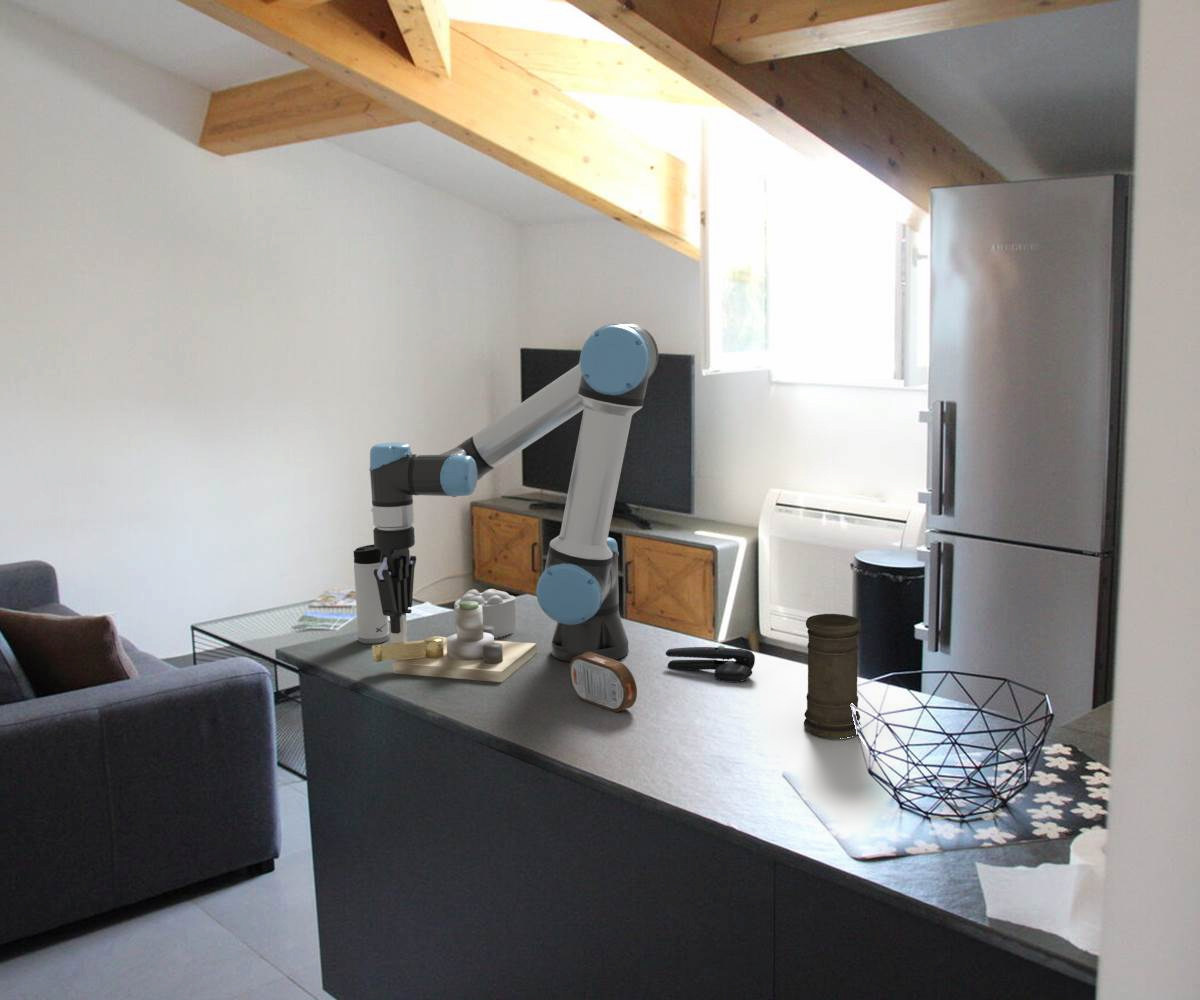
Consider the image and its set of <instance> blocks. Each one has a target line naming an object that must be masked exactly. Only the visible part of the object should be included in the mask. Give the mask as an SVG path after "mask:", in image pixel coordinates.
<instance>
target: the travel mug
mask: <svg viewBox="0 0 1200 1000" xmlns="http://www.w3.org/2000/svg"><path fill="white" fill-rule="evenodd" d="M380 558H381V551H380V550H379V549H377V548H375V546H374V544H368V545H363V546H359V547H357V548H355V550H353V568H354V569H353V571H354V587H355V588H354V589H355V603H356V604H355V608H356V621H357V633H358V634H357V640H358V642H359V643H361V644H365V645H366V644H367V645H376V644H383V643H385V642H388V640H390V631H389V630H390V623H389V616H385V615H383V612H382V606H381V601H380V595H379V590H378V585H377V580H376V578H375V576H374V570H375V569H379V568H380V566H381V563H380Z"/></svg>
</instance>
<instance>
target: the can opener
mask: <svg viewBox="0 0 1200 1000" xmlns="http://www.w3.org/2000/svg"><path fill="white" fill-rule="evenodd" d="M665 656H667V657H668V658H669V657H670V658H673V657H674V658H693V659H674V660H673V659H672V660H669V662H668V663H667V667H668V668H669V669H674V670H683V671H697V670H698V671H701V670H706V671H707V670H708V671H709V670H712V671H713V670H714V673H713V678H715V679H716V680H719V681H722V682H727V683H728V682H730V683H736V682H737V683H738V682H743V681H745V680H747V679H748V678H750V676H752V675H753V668H754V666H755V664H756V656H755V654H754V653H753V652H752V651H751V650H748V649H743V648H731V647H730V648H729V647H726V646H724V645H718V646H717V647H715V646H713V647H712V646H691V647H687V646H686V647H685V646H684V647H675V648H669V649H667V650H666V651H665ZM695 658H696V659H695ZM697 658H698V659H697ZM732 659H733V660H732Z"/></svg>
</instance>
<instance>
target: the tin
mask: <svg viewBox="0 0 1200 1000" xmlns="http://www.w3.org/2000/svg"><path fill="white" fill-rule="evenodd" d="M569 680H570V685H571V688H572V689H573V691H574V692H575V694H576V695H577V696H578V697H579V698H580V699H581V700H583V701H585V702H587V703H590V704H592V705H595V706H598V707H600V708H603V709H605V710H608V711H611V712H615V713H616V712H618V713H619V712H622V711H624V710H626V709H630V708H632V707H633V706H634V705H635V703H636V701H637V696H638V688H637V683H636V680H635V678H634V675H633V673H632V672H631V671H630V669H629V667H627V666H626V665H625V664H624V663H622V661H621V662H620V661H618V660H613V659H610V658H607V657H604V656H601V655H598V654H596V653H593V652H585V653H583V654H581V655H579V656H576V657H575V658H573V659H572V661H571V662H569Z"/></svg>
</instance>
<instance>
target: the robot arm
mask: <svg viewBox="0 0 1200 1000" xmlns="http://www.w3.org/2000/svg"><path fill="white" fill-rule="evenodd" d="M579 355H580V356H579V362H578V364H577V365H576V366H574V367H572V368H571V369H569V370H568V371H566V372H565V373H563V374H562V375H561V376H559V377H558V378H556V379H555V380H553V381H552V382H550V383H548V384H547V385H546V386H544V387H543V388H541V389H540V390H538V391H537V392H535V393H534V394H532V395H531V396H529V397H528V398H526V399H525V400H524V401H523V402H521V403H520V404H518V405H516V406H515V407H514V408H512V409H510V410H509V411H507V412H506V413H504V414H503V415H502V416H500V417H499V418H497V419H496V420H494V421H493V422H491V423H490V424H488V425H486V427H483V428H482V429H481V430H480V431H477V433H475V434H473V435H472V436H470V437H469V438H467V439H465V440H464V441H462V443H460V444H458V445H457V446H456V447H454V448H452V449H450V450H447V451H446V452H445V451H444V452H443V453H440V454H414V453H412V451H411V445H409V444H408V443H407V442H406V443H405V442H383V443H377V444H375V445H373V446H372V447H370V451H369V470H368V471H369V475H370V477H369V478H370V489H371V504H372V506H371V507H372V508H371V511H370V512H371V513H372V524H373V526H374V529H373V531H372V532H373V534H372V535H373V545H374V546H375V548H377V549H379V550H380V551H381V558H380V563H381V566H380V568H379V569H375V570H374V576H375V578H376V580H377V585H378V590H379V595H380V601H381V606H382V612H383V615H385V616H388V617H389V630H390V643H400V642H408V625H407V623H408V622H407V614H411V613H412V609H410V608H412V606H413V595H414V583H415V582H414V578H415V567H416V563H417V555H411V554H410V553H411V552H410V549H411V548H413V547H414V545H415V543H416V541H415V537H416V536H415V527H414V526H413V524H414V523H415V518H414V516H415V514H414V499H413V496H436V497H451V498H456V497H467V496H471V495H472V494H473V493H474V492H475V489H476V487H477V483H478V481H479V480H481V479H482V478H483V477H484V476H485V475H486V474H488V473H490V472H492V471H493V470H494V469H495V468H496V467H498V466H500V465H502V464H503V463H504V462H506V461H508V460H509V459H510V458H512V457H513V456H515V455H516V454H518V453H520V452H521V451H522V450H524V449H526V448H528V447H529V446H531V444H533V443H534V442H536V441H538V440H540V439H542V438H543V437H544V436H545V435H547V434H548V433H550V432H551V431H553V430H554V429H555V428H557V427H559V426H560V425H562V424H564V423H566V421H568V420H570V419H571V418H572V417H574V416H575V415H577V414H579V413H580V412H582V411H583V412H582V418H581V421H580V422H581V423H580V428H579V434H578V438H577V442H576V443H577V444H576V449H575V453H574V457H573V458H574V459H573V463H572V470H571V475H570V481H569V484H568V485H569V486H568V490H567V494H566V495H567V496H566V499H565V500H566V501H565V506H564V507H565V508H564V510H563V511H564V512H563V517H562V522H561V526H560V527H561V528H560V531H559V535H557V536H556V537H554V538H553V539H551V540H550V542H549V546H548V551H547V556H546V561H545V567H544V571H542V573H541V575H540V576H539V579H538V581H537V584H536V599H537V600H536V601H537V602H538V606H539V607H540V608H541V610H542V611H543V613H544V615H546V616H547V617H548V618H549V619H551V620H553V621H554V622H556V626H555V628H554V631H553V635H552V639H551V643H550V645H551V647H550V648H551V651H550V652H551V655H552V657H554V658H555V659H557V660H560V661H562V662H568V663H571V661H572V659H573V658H575V657H576V656H579V655H581V654H583V653H585V652H593V653H596V654H598V655H601V656H604V657H607V658H610V659H613V660H616V661H618V660H619V659H622V658H624V657H626V656H627V655H628V653H629V652H630V651H629V648H630V646H629V639H628V635H627V633H626V630H625V626H624V623H623V621H622V618H621V615H620V610H619V609H620V605H619V599H620V598H619V556H620V553H619V550H618V549H619V548H618V542H617V541H616V539H615V538H612V537H610V536H609V532H610V528H611V522H612V518H613V512H614V507H615V503H616V497H617V492H618V488H619V484H620V483H619V482H620V478H621V472H622V467H623V462H624V459H625V453H626V447H627V443H628V437H629V431H630V428H631V423H632V418H633V415H634V414H635V413H637V412H638V411H639V410H641V409H642V408H643V407H644V402H645V396H646V392H647V386H648V381H649V378H651V376H652V375H653V374H654V372H655V370H656V367H657V365H658V361H659V348H658V344H657V343H656V340H655V338H654V336H653V335H652V333H650V332H649V331H648V330H647V329H645V328H644V327H643V326H641V325H639V324H637V323H631V322H630V323H629V322H624V323H623V322H621V323H616V322H615V323H609V324H606V325H603V326H601V327H599V328H597V329H596V330H594V331H593V333H591V334H590V335H589V336H588V338H587V339H586V340H585V341H584V344H583V345H582V348H581V352H580V354H579Z"/></svg>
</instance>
